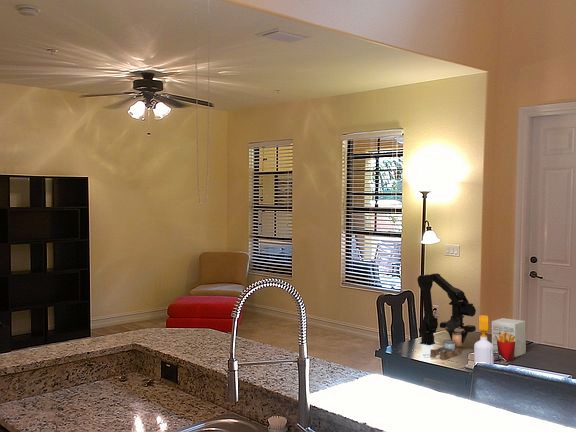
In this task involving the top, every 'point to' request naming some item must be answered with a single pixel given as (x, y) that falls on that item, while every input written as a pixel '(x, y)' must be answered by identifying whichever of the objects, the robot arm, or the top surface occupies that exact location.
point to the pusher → (445, 349)
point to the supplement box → (510, 327)
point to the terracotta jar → (457, 338)
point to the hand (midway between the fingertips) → (457, 342)
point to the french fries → (506, 346)
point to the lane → (444, 355)
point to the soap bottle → (483, 343)
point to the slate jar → (449, 344)
